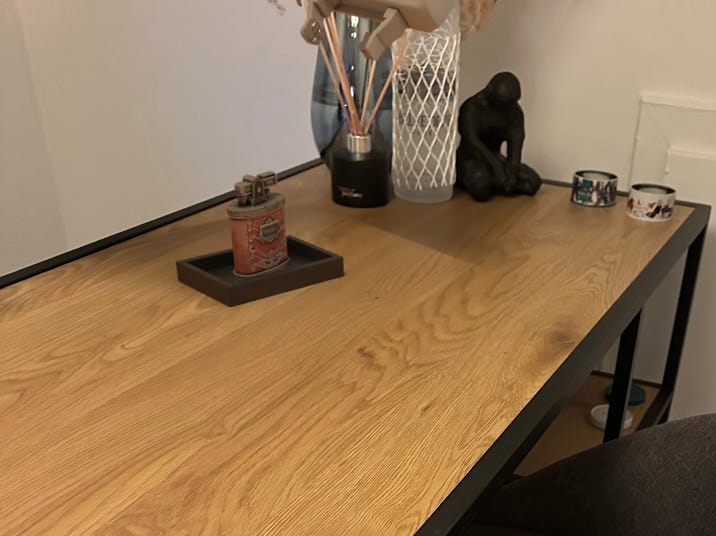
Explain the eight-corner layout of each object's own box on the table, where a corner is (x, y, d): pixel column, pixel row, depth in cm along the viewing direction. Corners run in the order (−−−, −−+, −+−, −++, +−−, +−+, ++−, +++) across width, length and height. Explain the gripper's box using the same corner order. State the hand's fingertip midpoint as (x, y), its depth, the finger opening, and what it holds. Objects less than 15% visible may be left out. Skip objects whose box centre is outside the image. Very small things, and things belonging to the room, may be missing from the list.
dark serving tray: (177, 280, 103) (175, 261, 101) (291, 252, 112) (290, 234, 110) (230, 307, 98) (228, 286, 96) (344, 275, 107) (343, 257, 106)
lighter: (251, 286, 101) (242, 186, 95) (226, 279, 102) (215, 180, 96) (296, 266, 107) (290, 171, 100) (272, 259, 108) (265, 165, 101)
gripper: (323, -107, 99) (256, 8, 100) (461, -90, 89) (386, 39, 90) (356, -56, 104) (293, 54, 105) (490, -34, 94) (419, 87, 95)
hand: (336, 47), depth 97 cm, fingers open, 8 cm apart
